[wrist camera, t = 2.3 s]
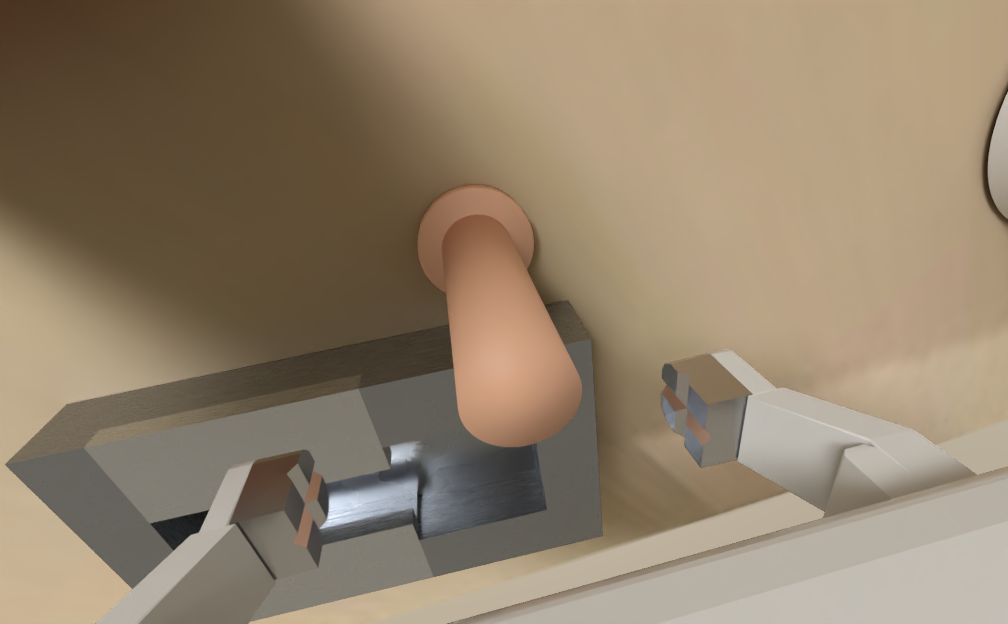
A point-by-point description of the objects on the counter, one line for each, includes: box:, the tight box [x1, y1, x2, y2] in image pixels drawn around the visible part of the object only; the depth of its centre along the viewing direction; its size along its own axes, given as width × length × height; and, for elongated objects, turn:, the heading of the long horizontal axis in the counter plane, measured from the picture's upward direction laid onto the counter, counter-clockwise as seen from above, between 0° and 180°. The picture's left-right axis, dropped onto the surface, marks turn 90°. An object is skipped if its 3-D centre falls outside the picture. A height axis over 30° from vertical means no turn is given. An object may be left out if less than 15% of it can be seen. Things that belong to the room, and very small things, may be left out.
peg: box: [418, 184, 582, 447], centre depth 15 cm, size 5×5×11 cm
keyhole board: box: [5, 300, 603, 622], centre depth 24 cm, size 24×14×4 cm, turn 98°
